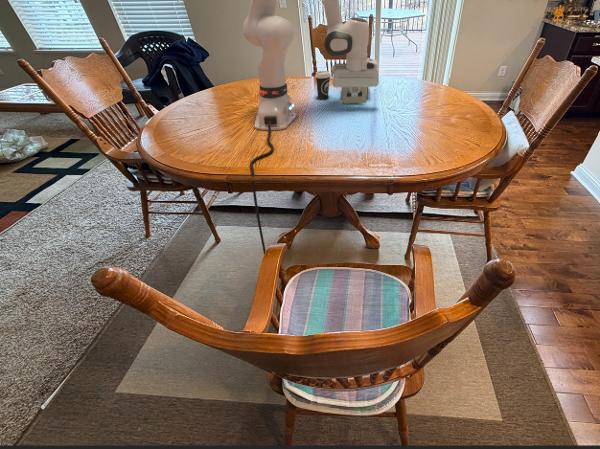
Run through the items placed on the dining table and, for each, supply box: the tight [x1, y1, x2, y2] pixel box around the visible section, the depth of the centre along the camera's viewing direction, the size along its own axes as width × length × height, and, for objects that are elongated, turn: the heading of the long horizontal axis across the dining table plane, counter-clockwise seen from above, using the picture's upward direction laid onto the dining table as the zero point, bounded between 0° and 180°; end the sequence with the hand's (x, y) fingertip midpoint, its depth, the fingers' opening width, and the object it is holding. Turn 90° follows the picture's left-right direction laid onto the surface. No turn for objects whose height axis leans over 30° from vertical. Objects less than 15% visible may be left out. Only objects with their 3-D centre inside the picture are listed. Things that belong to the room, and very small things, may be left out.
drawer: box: [341, 87, 368, 104], centre depth 146 cm, size 18×12×8 cm, turn 171°
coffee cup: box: [314, 70, 331, 100], centre depth 152 cm, size 8×8×12 cm
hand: (354, 96), depth 138 cm, fingers closed
